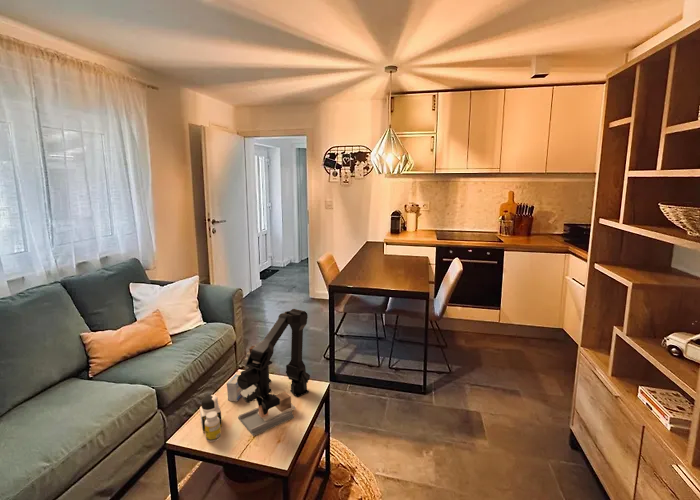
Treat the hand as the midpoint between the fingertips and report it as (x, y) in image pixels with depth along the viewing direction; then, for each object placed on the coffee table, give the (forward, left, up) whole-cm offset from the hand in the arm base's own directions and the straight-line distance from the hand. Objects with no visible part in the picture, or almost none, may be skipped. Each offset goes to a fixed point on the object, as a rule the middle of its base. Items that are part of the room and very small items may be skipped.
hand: (263, 412), depth 154 cm
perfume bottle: (-10, -29, -3) cm, 31 cm away
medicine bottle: (+18, -10, -3) cm, 21 cm away
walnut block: (-9, 0, -1) cm, 9 cm away
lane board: (-1, 0, -3) cm, 3 cm away
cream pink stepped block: (-6, 0, -2) cm, 6 cm away
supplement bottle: (+20, -2, -3) cm, 20 cm away
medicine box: (+2, -23, -3) cm, 23 cm away
